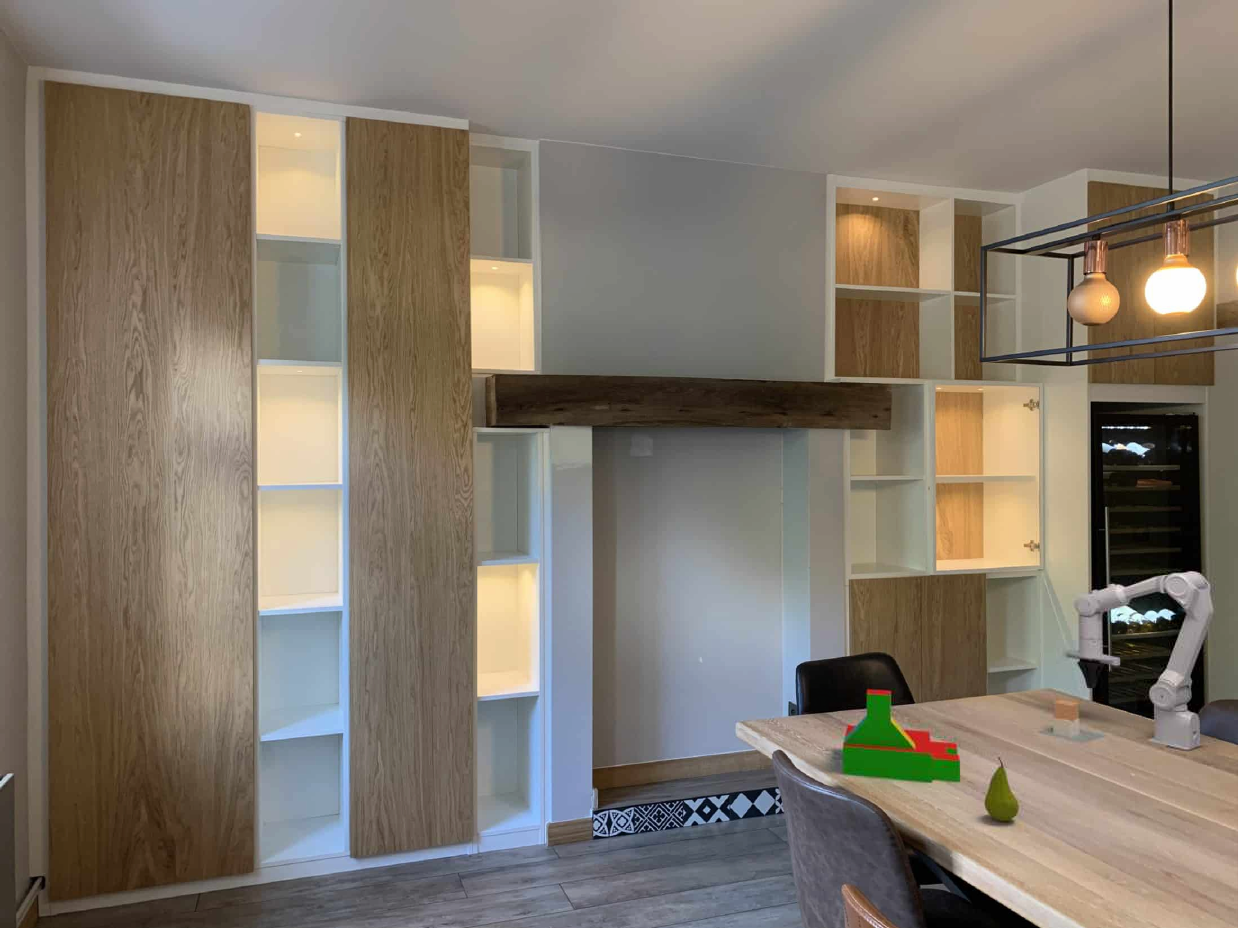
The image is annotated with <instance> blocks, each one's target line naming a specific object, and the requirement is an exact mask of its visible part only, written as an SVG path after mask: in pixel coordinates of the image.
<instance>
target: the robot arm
mask: <svg viewBox="0 0 1238 928" xmlns="http://www.w3.org/2000/svg"><path fill="white" fill-rule="evenodd" d="M1210 591H1211V585H1210V583H1209V582H1208V580H1207V579H1206V578H1205V577H1204V575H1203V574H1201V573H1200V572H1197V571H1193V570H1192V571H1191V570H1189V571H1186V572H1177V573H1176V572H1173V573H1170V574H1164V575H1157V576H1153V577H1151V578H1149V579H1145V580H1142V581H1139V582H1137V583H1135V584H1131V585H1129V586H1124V585H1122V584H1115V583H1110V584H1107V587H1106V588H1103V589H1100V590H1098V589H1094V590H1092V591H1091V593H1089V594H1087V593H1083V594H1081V595H1079V596H1078V597H1076V599H1074V605H1073V606H1074V608H1075V610H1076V612H1077V614H1078V650H1070V649H1063V650H1062V658H1066V659H1068V658H1070V659H1076V660H1078V661H1077V666H1078V667H1079V669H1080V671H1081V673H1082V675H1083V679H1084V681H1085V685H1086V688H1087V689H1096V687H1097V682H1098V678H1099V677H1100V674H1101V671H1102V670H1103V668H1105V667H1104V666H1105V664H1106V665H1112V666H1115V667H1116V666H1120V665H1121V658H1120V657H1116V656H1112V655H1108V654H1104V651H1103V650H1104V649H1103V648H1104V647H1103V614H1104V613H1106V612H1108V611H1112V610H1115V609H1119V608H1122V607H1126V606H1129V604H1130V602H1131V601H1132V599H1133V598H1137V597H1142V596H1145V595H1149V594H1152V593H1157V592H1159V593H1161V594H1168V595H1169V596H1170V597H1171V598H1172V599H1173V600H1174V601H1176V602H1177V603H1178V604H1179V605H1181V607H1182V608H1183V611H1184V612H1185V613H1186V615H1185V617H1184V620H1183V622H1182V626H1181V628H1180V631H1179V634H1178V637H1177V639H1176V641H1175V645H1174V647H1173V649H1172V652H1171V656H1170V658H1169V661H1168V663H1167V666H1166V669H1165V670H1164V671H1163V673H1162V674H1160V676H1159V677H1158V680H1157V682H1156V683H1155V684H1153V685H1152V686H1151V687H1150V689H1149V693H1148V694H1149V695H1148V696H1149V699H1150V702H1152V704H1153V708H1154V709H1153V714H1154V715H1153V720H1154V723H1153V724H1154V725H1153V727H1154V737H1151V738H1149V739H1147V741H1149V742H1153V743H1157V744H1161V745H1166V747H1171V748H1175V749H1179V750H1184V751H1190V750H1193V749H1196V748H1198V747H1201V746H1202V743H1201V732H1200V731H1201V728H1200V727H1201V723H1200V722H1201V721H1200V717H1199V715H1198V714H1197V713H1195V712H1192V711H1189V709H1188V705H1187V704H1188V703H1189V702H1190V700H1191V699H1192V690H1191V689H1192V684H1193V680H1192V678H1191V675H1192V671H1193V669H1194V666H1195V664H1196V661H1197V658H1198V656H1199V653H1200V650H1201V648H1202V646H1203V642H1204V640H1205V637H1206V635H1207V633H1208V630H1209V626H1210V624H1211V621H1212V618H1213V616H1214V606H1213V602H1212V597H1211V592H1210Z"/></svg>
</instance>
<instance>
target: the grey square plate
mask: <svg viewBox="0 0 1238 928" xmlns="http://www.w3.org/2000/svg"><path fill="white" fill-rule="evenodd" d="M1037 733H1038V734H1043V735H1047V736H1051V737H1057V738H1060V739H1064V740H1067V741H1072V742H1078V743H1081V744H1085V743H1089V742H1091V741H1094V740H1098V739H1100V738H1105V737H1107V734H1101V733H1097V732H1093V731H1089V730H1083V729H1080V728H1079V735H1075V736H1072V737H1068V736H1064V735H1060V734H1056V733H1053V727H1051V728H1048V729H1044V730H1041V731H1038V732H1037Z"/></svg>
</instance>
